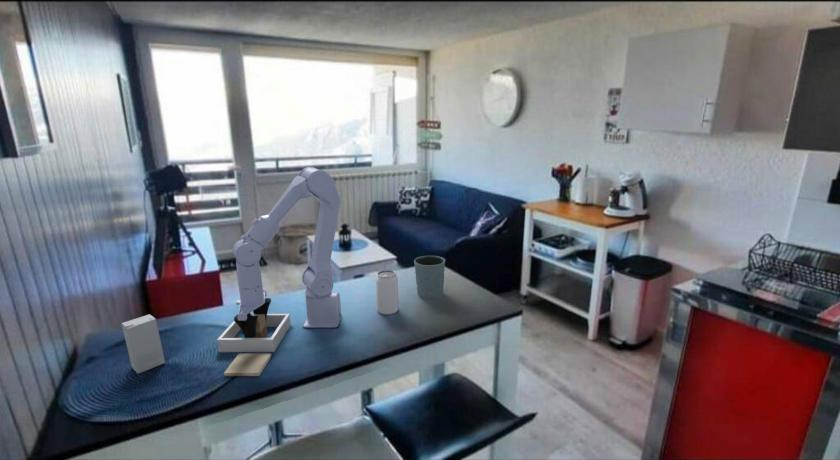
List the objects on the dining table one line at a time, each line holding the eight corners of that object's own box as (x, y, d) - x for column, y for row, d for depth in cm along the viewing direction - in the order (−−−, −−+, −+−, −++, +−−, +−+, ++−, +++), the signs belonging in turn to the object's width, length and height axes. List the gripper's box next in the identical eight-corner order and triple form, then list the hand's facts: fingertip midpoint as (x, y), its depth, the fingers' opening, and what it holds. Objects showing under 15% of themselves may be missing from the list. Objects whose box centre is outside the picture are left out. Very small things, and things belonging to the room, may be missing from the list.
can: (373, 313, 125) (372, 275, 122) (383, 304, 131) (382, 268, 128) (392, 316, 123) (391, 279, 120) (401, 307, 129) (401, 271, 125)
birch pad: (271, 356, 103) (271, 353, 103) (259, 375, 95) (258, 372, 95) (239, 356, 103) (238, 353, 103) (224, 375, 95) (224, 372, 95)
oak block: (267, 334, 113) (264, 313, 112) (261, 341, 110) (259, 320, 108) (252, 334, 113) (249, 313, 112) (246, 341, 110) (243, 320, 108)
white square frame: (290, 324, 118) (289, 313, 117) (274, 351, 105) (272, 339, 104) (241, 325, 118) (240, 313, 117) (218, 352, 105) (216, 339, 104)
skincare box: (159, 357, 103) (150, 312, 99) (166, 363, 100) (157, 318, 97) (130, 368, 98) (120, 322, 95) (136, 375, 95) (126, 328, 92)
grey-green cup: (445, 300, 133) (445, 265, 130) (413, 300, 134) (413, 265, 130) (444, 287, 143) (444, 255, 140) (414, 287, 143) (414, 255, 140)
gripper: (246, 274, 114) (251, 319, 118) (222, 297, 100) (229, 346, 104) (272, 274, 114) (276, 319, 118) (251, 296, 100) (257, 346, 104)
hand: (256, 332), depth 111 cm, fingers open, 7 cm apart
